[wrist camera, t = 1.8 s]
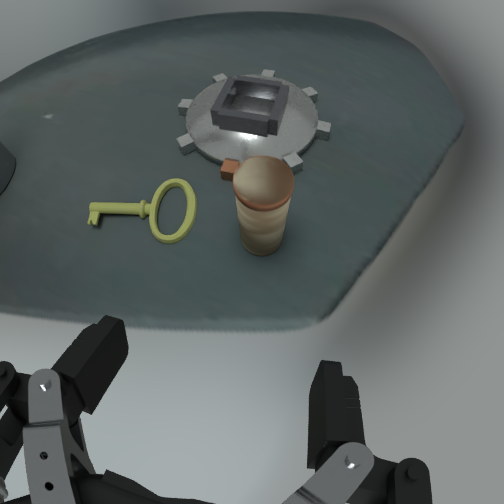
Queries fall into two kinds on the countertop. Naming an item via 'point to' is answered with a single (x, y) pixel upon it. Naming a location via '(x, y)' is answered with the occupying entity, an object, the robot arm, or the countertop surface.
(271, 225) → the pin
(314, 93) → the sprocket plate
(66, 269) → the countertop surface
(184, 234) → the key
